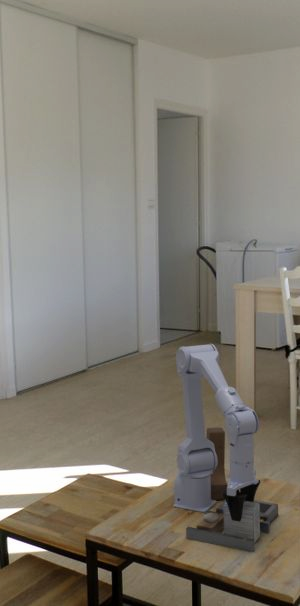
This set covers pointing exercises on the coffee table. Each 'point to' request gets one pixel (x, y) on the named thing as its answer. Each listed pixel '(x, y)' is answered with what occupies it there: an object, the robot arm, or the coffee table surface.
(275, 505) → the tray
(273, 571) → the coffee table surface
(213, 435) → the wooden block
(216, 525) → the brown block grey dome
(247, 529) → the medicine box
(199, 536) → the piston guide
